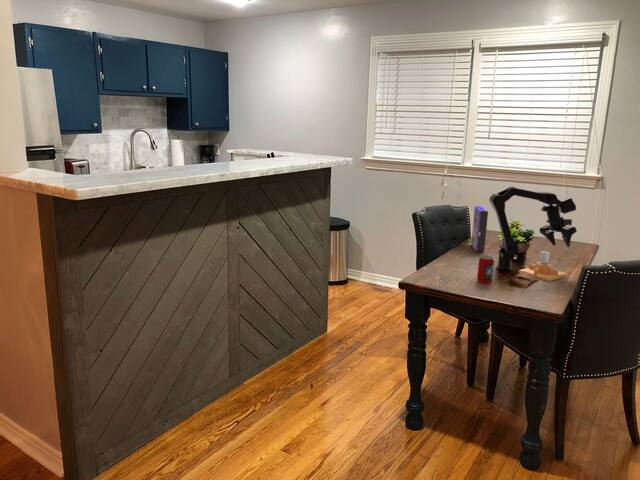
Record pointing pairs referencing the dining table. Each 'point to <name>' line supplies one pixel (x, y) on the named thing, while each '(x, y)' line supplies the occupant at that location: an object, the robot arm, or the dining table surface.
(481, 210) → the cereal box
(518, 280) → the sunglasses case
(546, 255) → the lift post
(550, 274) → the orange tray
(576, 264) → the dining table surface
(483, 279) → the beverage can
